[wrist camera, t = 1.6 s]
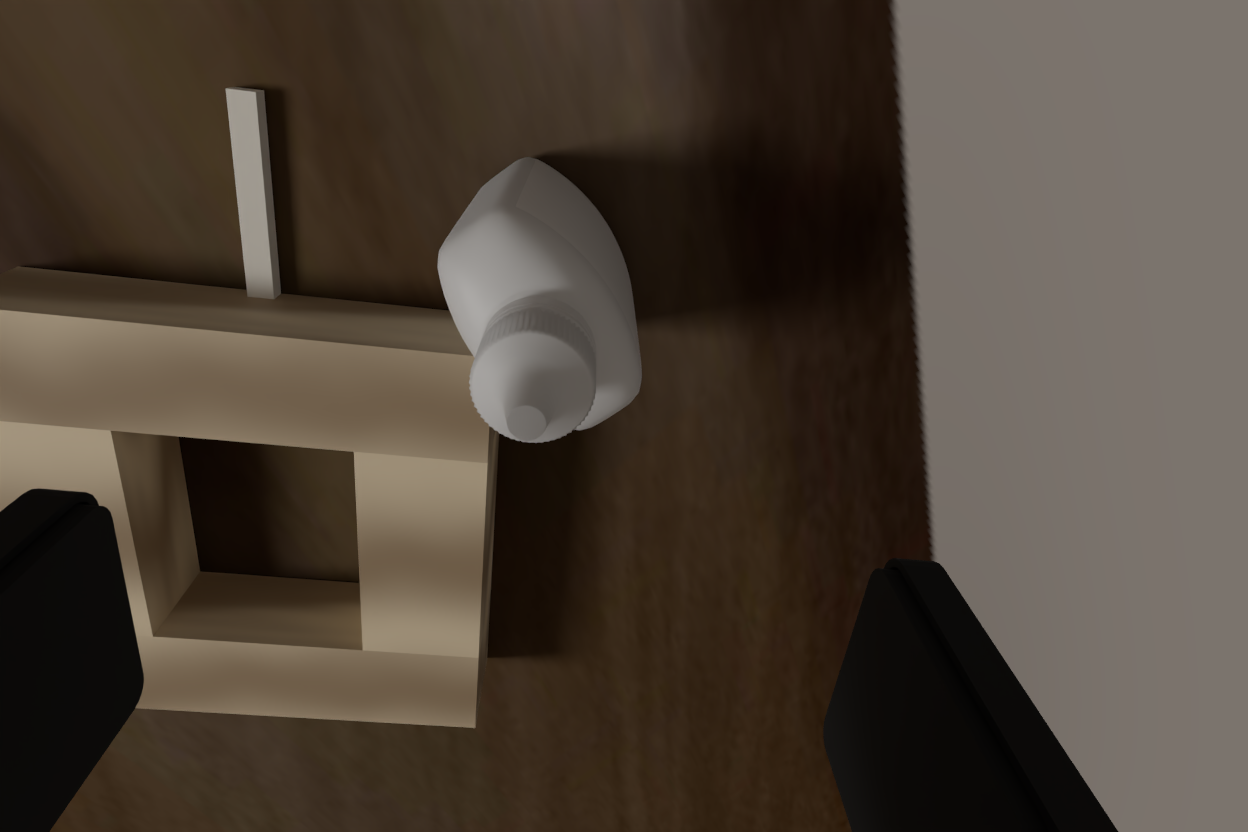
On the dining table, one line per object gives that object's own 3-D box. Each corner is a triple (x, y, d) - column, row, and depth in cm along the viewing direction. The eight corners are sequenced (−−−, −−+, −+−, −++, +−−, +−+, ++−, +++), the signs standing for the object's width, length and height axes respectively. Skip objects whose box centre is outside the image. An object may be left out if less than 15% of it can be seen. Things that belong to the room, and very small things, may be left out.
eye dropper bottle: (618, 144, 23) (638, 252, 12) (634, 323, 25) (663, 541, 15) (472, 160, 23) (361, 279, 12) (503, 336, 25) (435, 564, 15)
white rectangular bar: (234, 86, 22) (225, 88, 21) (264, 90, 22) (255, 92, 21) (255, 290, 24) (247, 296, 24) (281, 293, 24) (274, 299, 24)
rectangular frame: (18, 266, 24) (-69, 303, 21) (505, 316, 25) (492, 358, 22) (106, 633, 30) (51, 703, 27) (487, 658, 32) (475, 727, 29)
